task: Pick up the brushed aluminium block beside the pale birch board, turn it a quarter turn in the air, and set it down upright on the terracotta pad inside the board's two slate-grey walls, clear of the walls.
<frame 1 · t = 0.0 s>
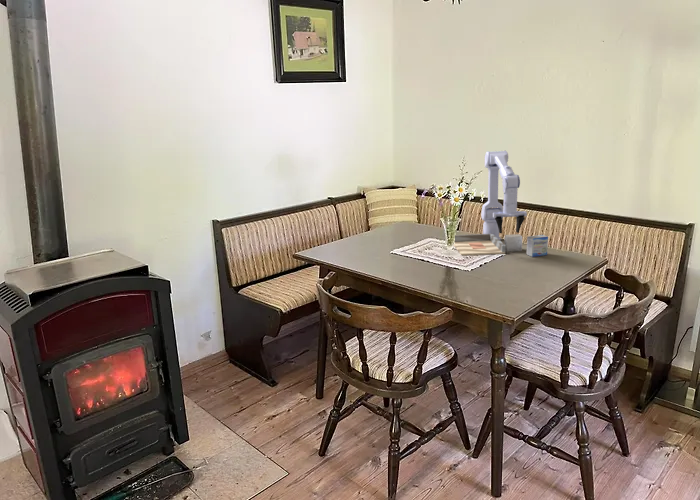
hand: (508, 232, 243), 10 cm above the table, tool pointing down, fingers open, 7 cm apart
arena: (477, 247, 257), on the table
medicine box: (536, 255, 243), on the table
aluminium block: (512, 250, 251), on the table
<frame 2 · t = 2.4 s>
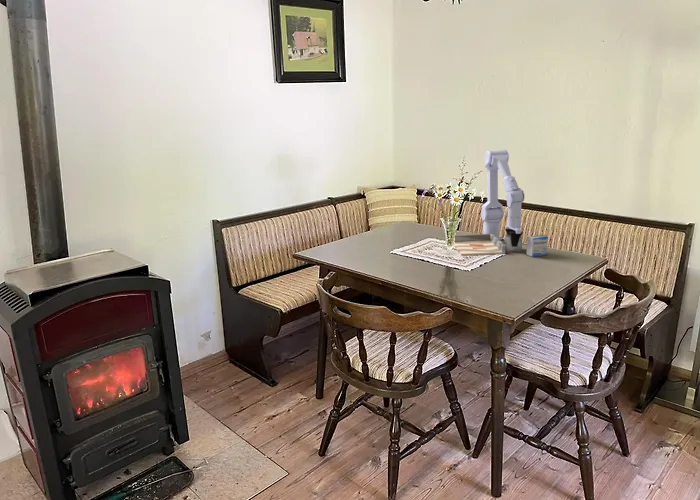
hand: (513, 245, 250), 2 cm above the table, tool pointing down, fingers closed on aluminium block, 4 cm apart
aluminium block: (512, 250, 251), on the table, touching gripper
everything else where it was.
when the fingers open (4 cm above the table, at t = 9.0 s): aluminium block stays where it is, resting on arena.
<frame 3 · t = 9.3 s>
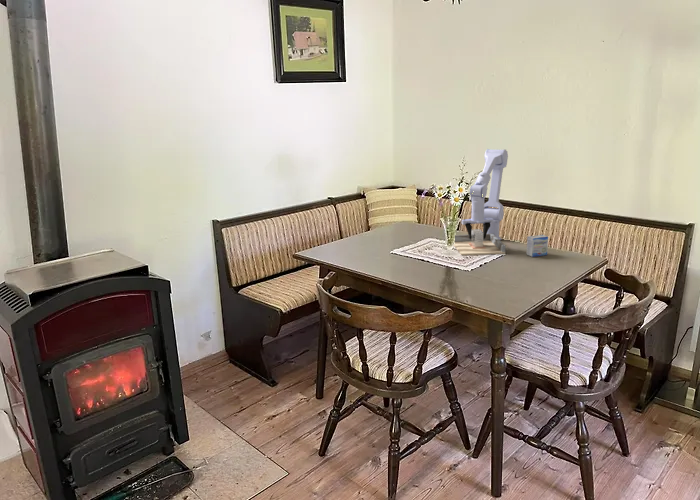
hand: (477, 238, 256), 4 cm above the table, tool pointing down, fingers open, 6 cm apart
aluminium block: (476, 245, 257), point 1 cm above the table, touching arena
everything else where it was.
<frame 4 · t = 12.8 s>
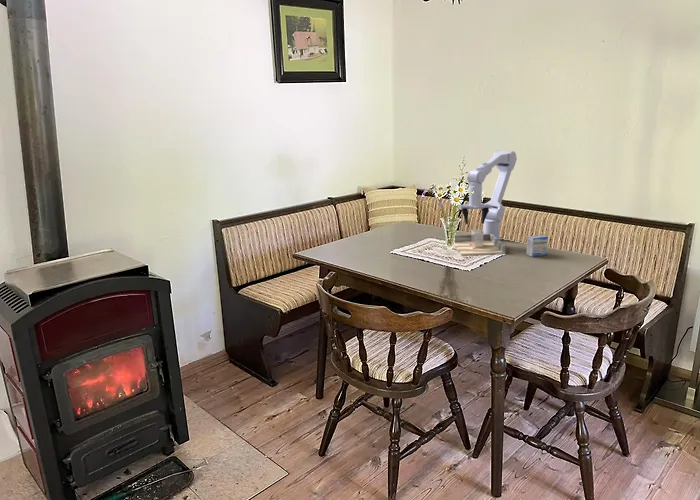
hand: (474, 223, 259), 10 cm above the table, tool pointing down, fingers open, 7 cm apart
nothing on the table moved.
at the end: aluminium block 0.0 cm from the target spot on the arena, point 1.0 cm above the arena's base; aluminium block tilted 0°; the gripper is holding nothing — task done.
